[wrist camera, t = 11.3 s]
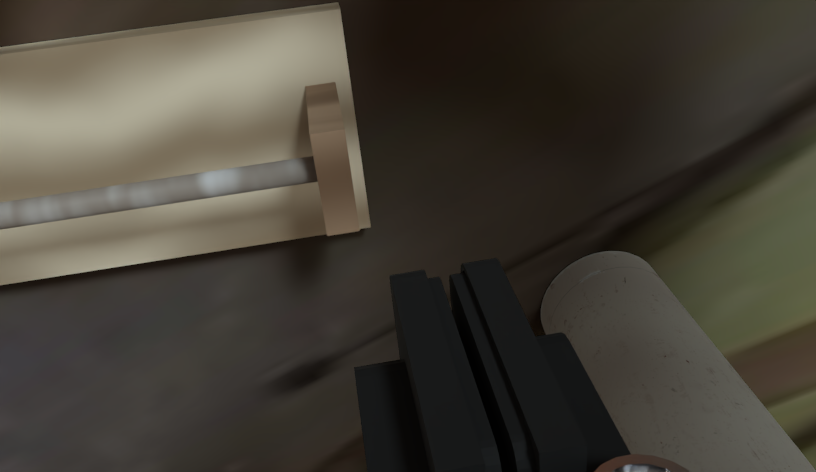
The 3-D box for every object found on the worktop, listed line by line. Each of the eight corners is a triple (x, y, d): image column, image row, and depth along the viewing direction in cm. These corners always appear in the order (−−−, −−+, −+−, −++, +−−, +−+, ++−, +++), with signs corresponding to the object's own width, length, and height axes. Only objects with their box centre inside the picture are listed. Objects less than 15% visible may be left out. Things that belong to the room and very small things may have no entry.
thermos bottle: (671, 321, 51) (1026, 788, 27) (561, 370, 51) (809, 867, 27) (641, 229, 47) (1027, 679, 23) (522, 283, 47) (774, 775, 23)
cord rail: (-397, 100, 35) (-577, 177, 28) (338, 2, 37) (352, 48, 30) (-257, 311, 41) (-374, 421, 34) (368, 214, 43) (385, 296, 36)
